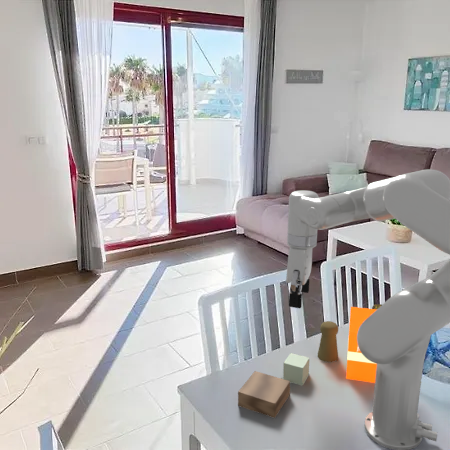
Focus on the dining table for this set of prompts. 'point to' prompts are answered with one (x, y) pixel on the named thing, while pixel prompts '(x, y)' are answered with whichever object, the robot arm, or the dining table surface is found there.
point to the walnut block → (264, 394)
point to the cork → (328, 342)
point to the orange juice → (356, 361)
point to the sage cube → (296, 369)
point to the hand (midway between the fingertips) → (299, 299)
